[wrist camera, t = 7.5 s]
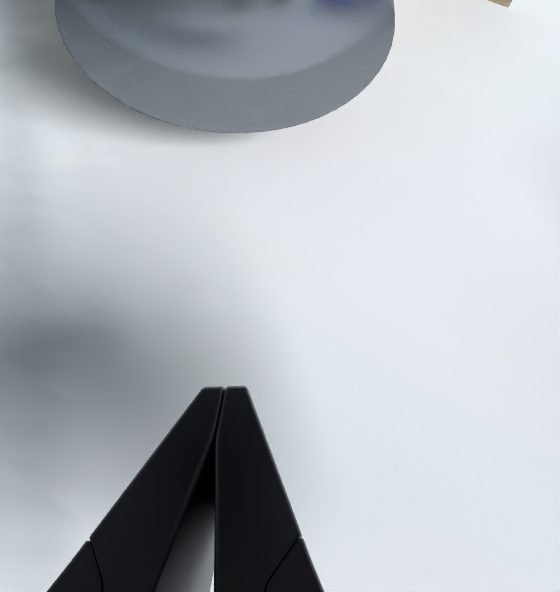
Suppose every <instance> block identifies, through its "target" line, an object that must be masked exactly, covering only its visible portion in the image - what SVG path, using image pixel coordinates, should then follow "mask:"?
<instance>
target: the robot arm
mask: <svg viewBox="0 0 560 592" xmlns="http://www.w3.org/2000/svg"><path fill="white" fill-rule="evenodd" d="M213 570H214V592H324V590H323V588H322V585H321V583H320V580H319V578H318V575H317V573H316V570H315V568H314V566H313V563H312V561H311V558H310V555H309V553H308V550H307V547H306V544H305V542H304V539H303V538H302V534H301V532H300V529H299V526H298V523H297V521H296V518H295V515H294V513H293V510H292V507H291V505H290V502H289V499H288V496H287V494H286V491H285V488H284V486H283V483H282V480H281V477H280V475H279V472H278V469H277V467H276V464H275V461H274V459H273V456H272V453H271V450H270V448H269V445H268V442H267V440H266V437H265V434H264V432H263V429H262V426H261V423H260V421H259V418H258V415H257V413H256V410H255V407H254V404H253V402H252V399H251V396H250V394H249V391H248V389H247V387H245V386H228V387H226V389H225V388H224V387H221V386H219V387H204V388H203V389H202V390H201V391H200V392H199V393H198V395H197V396H196V397H195V399H194V400H193V401H192V403H191V404H190V405H189V407H188V408H187V409H186V411H185V412H184V413H183V415H182V416H181V417H180V418H179V420H178V421H177V422H176V424H175V425H174V426H173V428H172V429H171V430H170V432H169V433H168V434H167V436H166V437H165V438H164V440H163V441H162V442H161V444H160V445H159V446H158V447H157V449H156V450H155V451H154V453H153V454H152V455H151V457H150V458H149V459H148V461H147V462H146V463H145V465H144V466H143V467H142V469H141V470H140V471H139V473H138V474H137V475H136V477H135V478H134V479H133V480H132V482H131V483H130V484H129V486H128V487H127V488H126V490H125V491H124V492H123V494H122V495H121V496H120V498H119V499H118V500H117V502H116V503H115V504H114V505H113V507H112V508H111V509H110V511H109V512H108V513H107V515H106V516H105V517H104V519H103V520H102V521H101V523H100V524H99V525H98V527H97V528H96V529H95V531H94V532H93V533H92V534H91V536H90V541H86V542H85V543H84V545H83V546H82V547H81V549H80V550H79V551H78V553H77V554H76V555H75V557H74V558H73V559H72V561H71V562H70V563H69V564H68V566H67V567H66V568H65V569H64V571H63V572H62V573H61V574H60V576H59V577H58V578H57V579H56V581H55V582H54V583H53V584H52V586H51V587H50V588H49V590H48V591H47V592H210V587H211V581H212V576H213Z"/></svg>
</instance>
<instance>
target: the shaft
mask: <svg viewBox="0 0 560 592" xmlns="http://www.w3.org/2000/svg"><path fill="white" fill-rule="evenodd" d="M55 14H56V19H57V23H58V28H59V31H60V33H61V36H62V38H63V41H64V44H65V45H66V47H67V49H68V50H69V52H70V54H71V56H72V57H73V59H74V60H75V61H76V63H77V64H78V65H79V66H80V68H81V69H82V70H83V71H84V72H85V73H86V74H87V75H88V76H89V77H90V78H91V79H92V80H93V81H94V82H95V83H96V84H97V85H98V86H100V87H101V88H102V89H103V90H105V91H106V92H107V93H108V94H110V95H111V96H113V97H115V98H116V99H118V100H119V101H121V102H122V103H124V104H126V105H128V106H130V107H132V108H133V109H135V110H137V111H140V112H142V113H144V114H146V115H149V116H151V117H154V118H157V119H159V120H162V121H165V122H168V123H172V124H176V125H179V126H183V127H188V128H193V129H198V130H205V131H213V132H226V133H250V132H264V131H271V130H278V129H283V128H287V127H292V126H296V125H299V124H302V123H306V122H309V121H311V120H314V119H317V118H319V117H322V116H324V115H326V114H328V113H330V112H332V111H334V110H336V109H338V108H339V107H341V106H343V105H344V104H346V103H347V102H349V101H350V100H351V99H353V98H354V97H355V96H357V95H358V94H359V93H360V92H361V91H362V90H363V89H364V88H365V87H367V86H368V85H369V84H370V82H371V81H372V80H373V79H374V77H375V76H376V75H377V74H378V72H379V71H380V69H381V67H382V66H383V64H384V62H385V61H386V59H387V56H388V53H389V51H390V48H391V46H392V41H393V36H394V29H395V12H394V0H55Z"/></svg>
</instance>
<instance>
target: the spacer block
mask: <svg viewBox="0 0 560 592" xmlns="http://www.w3.org/2000/svg"><path fill="white" fill-rule="evenodd" d="M489 1H492V2H494V3H497V4H500V5H503V6H506V7H509V5H510V3H511V2H512V0H489Z"/></svg>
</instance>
